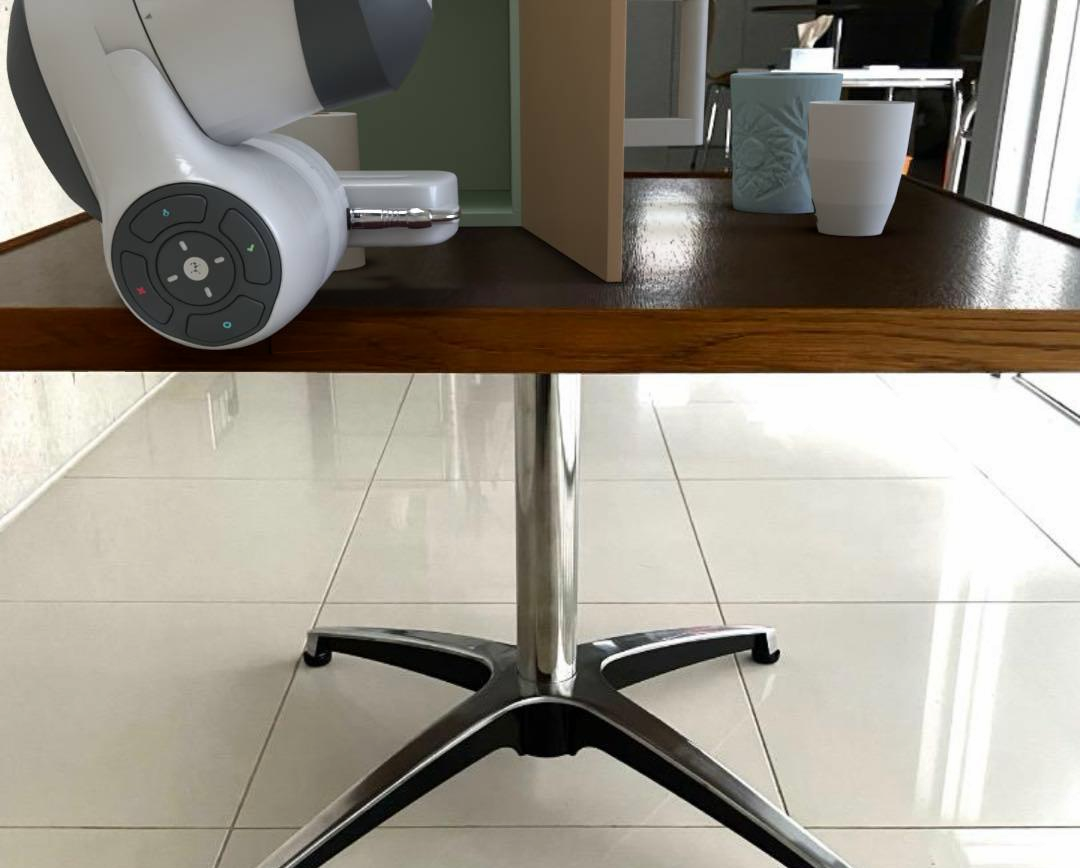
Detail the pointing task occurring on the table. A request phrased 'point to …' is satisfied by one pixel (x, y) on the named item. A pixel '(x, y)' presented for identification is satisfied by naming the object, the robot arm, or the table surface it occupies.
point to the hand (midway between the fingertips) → (303, 193)
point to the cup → (856, 162)
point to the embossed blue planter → (775, 138)
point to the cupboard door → (591, 121)
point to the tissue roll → (332, 154)
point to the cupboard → (456, 111)
